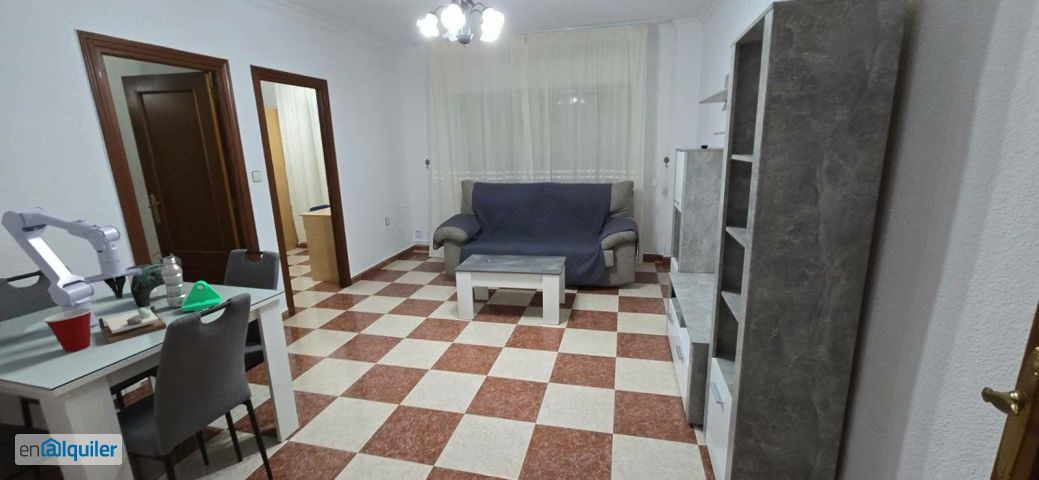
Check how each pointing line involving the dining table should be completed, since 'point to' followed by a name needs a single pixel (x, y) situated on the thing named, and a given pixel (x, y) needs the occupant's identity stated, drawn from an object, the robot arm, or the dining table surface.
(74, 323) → the plastic cup
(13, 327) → the dining table surface
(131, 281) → the jar
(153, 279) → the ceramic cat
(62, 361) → the dining table surface
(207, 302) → the green triangular piece
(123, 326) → the instrument deck
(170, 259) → the plastic bottle
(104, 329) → the walnut base
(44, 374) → the dining table surface
